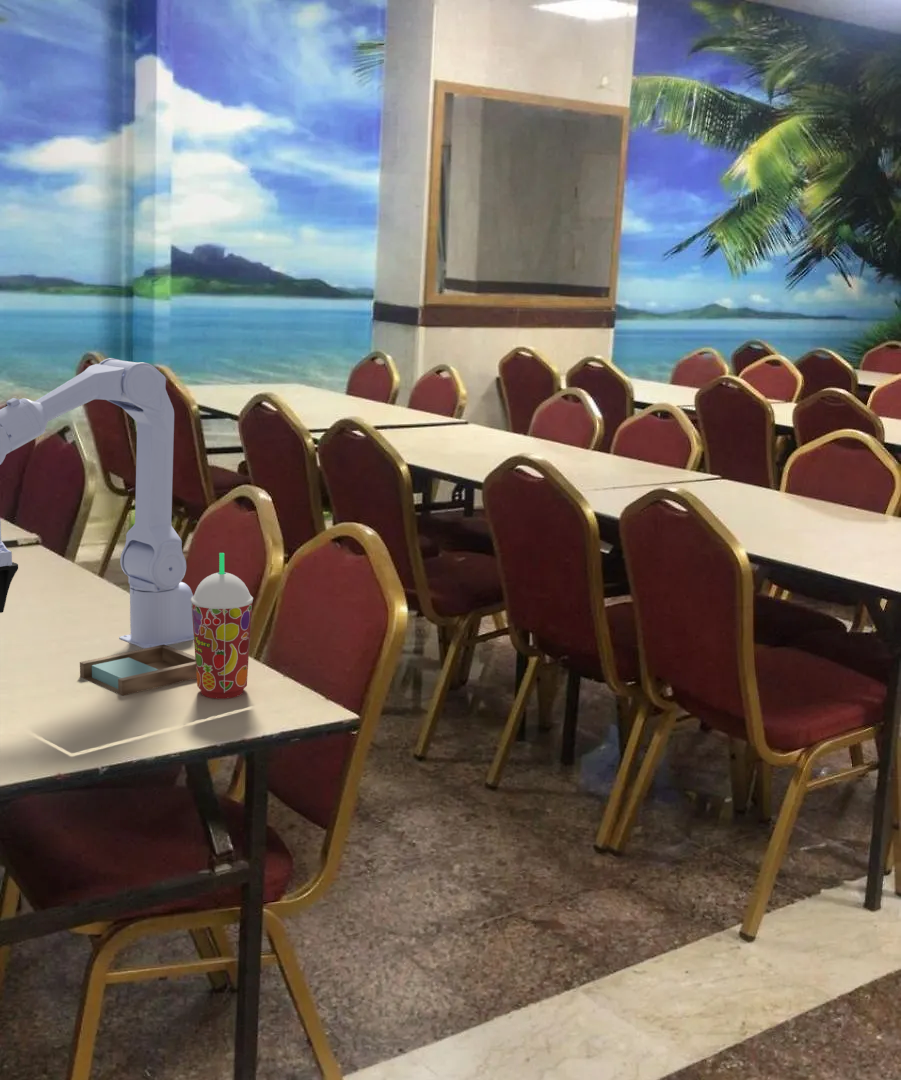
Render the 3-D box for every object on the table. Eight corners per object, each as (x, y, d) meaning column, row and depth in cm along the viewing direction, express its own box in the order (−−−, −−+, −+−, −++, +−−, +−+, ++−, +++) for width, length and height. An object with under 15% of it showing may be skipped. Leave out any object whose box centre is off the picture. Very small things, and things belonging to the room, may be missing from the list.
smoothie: (185, 688, 186) (184, 548, 182) (244, 682, 189) (244, 545, 185) (199, 706, 178) (198, 561, 174) (259, 700, 182) (260, 558, 178)
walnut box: (164, 660, 198) (164, 644, 198) (207, 677, 191) (207, 661, 190) (80, 679, 188) (79, 662, 188) (122, 698, 181) (122, 680, 180)
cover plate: (128, 669, 192) (128, 657, 192) (160, 682, 187) (159, 670, 186) (92, 677, 188) (91, 665, 188) (122, 691, 183) (122, 678, 182)
